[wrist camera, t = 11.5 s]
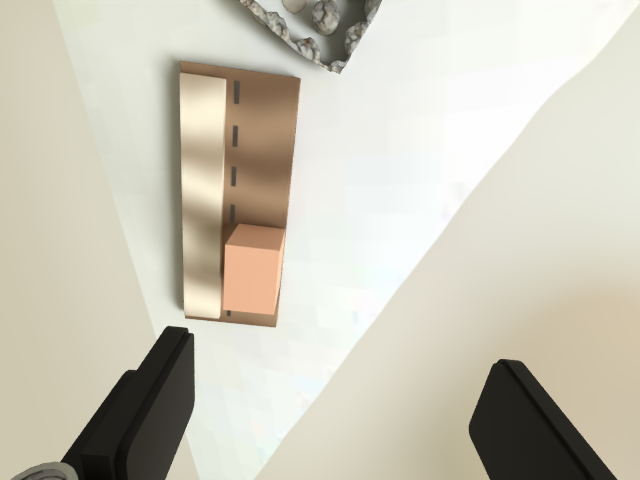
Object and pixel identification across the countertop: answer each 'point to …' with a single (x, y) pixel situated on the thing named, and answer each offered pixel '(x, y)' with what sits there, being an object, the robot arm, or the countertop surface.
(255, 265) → the peach rectangular block
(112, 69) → the countertop surface
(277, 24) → the egg carton
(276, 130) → the board
